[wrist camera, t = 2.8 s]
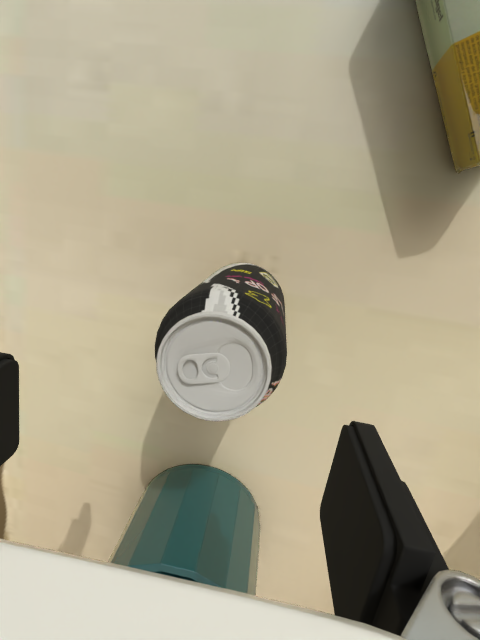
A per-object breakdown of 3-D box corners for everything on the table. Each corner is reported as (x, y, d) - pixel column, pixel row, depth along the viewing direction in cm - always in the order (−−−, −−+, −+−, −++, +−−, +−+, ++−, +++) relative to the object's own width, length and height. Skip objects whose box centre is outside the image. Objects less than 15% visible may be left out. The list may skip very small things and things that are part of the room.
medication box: (398, -47, 19) (416, -109, 16) (452, -77, 19) (485, -151, 15) (453, 175, 22) (480, 167, 18) (503, 156, 21) (543, 144, 17)
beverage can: (199, 263, 25) (131, 299, 14) (283, 259, 24) (286, 294, 13) (206, 341, 27) (149, 435, 15) (285, 340, 26) (289, 437, 14)
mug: (147, 452, 30) (92, 547, 21) (270, 479, 29) (265, 588, 20) (133, 574, 33) (82, 697, 25) (242, 600, 33) (228, 736, 24)
